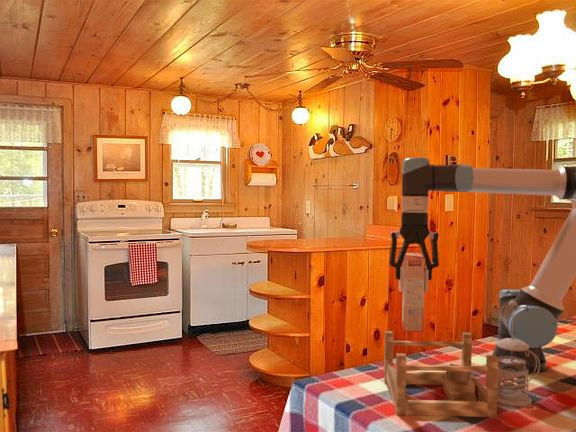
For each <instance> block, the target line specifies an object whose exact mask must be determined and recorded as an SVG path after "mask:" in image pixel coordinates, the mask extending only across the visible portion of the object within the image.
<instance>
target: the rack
mask: <svg viewBox="0 0 576 432" xmlns="http://www.w3.org/2000/svg"><path fill="white" fill-rule="evenodd" d="M461 335H462V336H461V341H433V340H432V341H428V340H427V341H422V340H421V341H420V340H394V333H393V331H391V330H389V331H388V330H387V331H386V330H385V331H384V354H383V355H384V356H383V357H384V358H383V359H384V362H383V365H384V366H383V368H384V369H383V371H384V372H383V382H384V385H386V387H387V390H388V392H389V395H390V398H391V400H392V402H393V403H392V404H393V406H394V409H395V411H394V412H395V414H396V416H436V417H437V416H440V417H443V416H445V417H474V418H475V417H476V418H478V417H481V418H498V402H497V389H498V357H497V356H495V355H492V354H486V359H485V360H486V363H485V365H472V349H473V347H472V345H473V344H472V343H473V334H472V333H471V332H462V334H461ZM394 346H399V347H401V346H407V347H409V346H410V347H411V346H412V347H449V348H450V347H452V348H453V347H457V348H458V347H459V348H460V347H461V366H449V365H450V364H449V365H443V364H442V365H439V364H436V365H435V364H407V355H406V353H405V352H404V353H403V352H401V353H400V352H399V353H398V352H396V354H395V359H396V360H395V365H394V362H393V361H394ZM446 371H466V372H470V378H471V380H472V381H473V383H474V384H475V395H476V401H450V400H434V399H431V400H430V399H406V398H407V397H406V396H407V394H406V392H407V391H406V390H407V389H406V386H407V385H425V386H427V385H431V386H432V385H433V386H436V385H437V386H439V385H440V386H443V383H444V382H445V373H446ZM472 372H474V373H476V372H477V373H478V372H479V373H485V374H486V375H485V386H484V385H483V384H482V383H481V382H480V380H479V379H478V378H477V377H476V376H475V374H473V373H472Z"/></svg>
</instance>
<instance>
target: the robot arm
mask: <svg viewBox="0 0 576 432" xmlns="http://www.w3.org/2000/svg"><path fill="white" fill-rule="evenodd" d="M401 169H402V171H401V208H400V209H401V210H402V212H401V217H400V218H401V223H400V228H399V229H398V230H397V231H391V232H390V234H389V235H390V239H391V244H390V252H389V253H390V254H389V260H388V261H389V262H388V264H389V265H390V266H391V267H393V268H395V274H394V275H395V276H394V277H395V280H398V291H399V292H400V293H401V292H402V293H403V267H402V265H403V260H404V256H405V254H406V253H408V252H407V251H408V249H409V246H410V245H414V244H415V245H419V247H420V251H421V254H422V255H423V256H424V258H425V282H424V293H428V292H429V281H432V279H433V269H434V268H438V267H439V262H440V261H439V251H438V249H439V248H438V239H439V236H440V234H439V232H433V231H430V228H429V214H428V210H429V193H430V192H445V193H475V194H476V193H478V194H479V193H480V194H482V193H483V194H503V195H504V194H505V195H506V194H507V195H529V196H530V195H532V196H552V197H553V196H556V198H557V199H558V200H566V201H567V200H569V201H570V203H571V207H572V208H571V210H570V212H569V214H568V216H567V217H566V219H565V221H564V223H563V224H562V227H561V229H560V230H559V232H558V234H557V235H556V238H554V241H553V243H552V244H551V247H550V248H549V250H548V252H547V254H546V256H545V258H544V259H543V262H542V263H541V265H540V267H539V268H538V271H537V272H536V273H535V275H534V277H533V279H532V281H531V283H530V284H529V285H528V286H525V287H521V289H509V288H508V289H501V290H500V292H499V296H498V301H499V302H498V304H499V305H498V335H497V336H498V338H497V341H498V340H501V339H505V338H512V313H513V338H515V339H518V340H521V341H523V342H525V343H526V344H528V345H529V346H530V348H529V349H528V350H530V351H531V352H533V353H534V354H535V355H536V356H537V357H538V359H539V361H540V370H539V373H538V374H541V373H544V372H546V371H547V358H546V356H545V353H544V349H543V347H545V346H547V345H548V344H550V343H551V342H552V341H553V340H554V339H555V338H556V336H557V335H558V334H557V332H558V328H559V327H558V321H559V319H560V317H561V316H562V314H563V312H564V310H565V309H564V304H563V303H562V301H563V299H564V297H565V296H566V294H567V293H568V290H569V288H570V286H571V285H572V283H573V282H574V280H575V277H576V166H575V165H574V166H561V167H559V168H558V169H542V168H541V169H537V168H535V169H534V168H503V167H502V168H501V167H500V168H496V167H493V168H492V167H491V168H490V167H473V165H472V164H471V165H470V164H462V163H461V164H436V165H435V164H431V162H430V159H429V158H427V157H407V158H404V160H403V161H402V168H401ZM400 236H401V237H402V239H403V242H402V246H401V247H400V252H399V254H398V256H396V255H397V246H398V239H400V238H399V237H400ZM428 236H429V239H430V246H431V247H430V248H431V258H432V259H431V258H430V255H429V252H428V249H427V245H426V242H425V241H426V239H427V237H428ZM396 257H397V259H396ZM431 261H432V262H431ZM510 301H516V303H517V306H511V305H509V302H510ZM530 351H526V354H527V355H528V352H530ZM491 355H495V356H497V357H500V356H509V357H511V356H512V357H516V358H521V359H524V360H526V362H527V364H526V365H525V366H526V371H527V368H528V374H532V373H533V372H534V370H535V367H536V360H537V368H536V370H535V373H534V374H537V372H538V368H539V362H538V359H537V357H536V356H535V357H536V360H535V357H534V355H533V354H532V353H529V357H528V356H526V355H525V351H509V350H504V349H501V348H498V347H497V346H496V345H495V346H494V348H493V352H492V353H491ZM507 368H511V369H514V370H516V371H518V369H517V368H515V367H512V366H505V367H503V368H501V369H503V370H504V369H507Z"/></svg>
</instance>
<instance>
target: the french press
mask: <svg viewBox="0 0 576 432" xmlns="http://www.w3.org/2000/svg"><path fill="white" fill-rule="evenodd" d="M509 305H511V306H517V303H516V301H510V302H509ZM497 340H498V339H497ZM494 345H495V346H497V347H498V348H501V349H504V350H509V351H525V355H526V356H528V357H529V353H532V354H533V355H534V357H535V356H536V355H535V354H534V353H533V352H531V351H530V350H528V349H529V348H530V346H529V345H528V344H526V343H525V342H523V341H521V340H518V339H515V338H513V313H512V338H505V339H501V340H498V341H495V342H494ZM526 351H530V352H528V355H527V354H526ZM536 357H537V356H536ZM536 357H535V360H536ZM537 359H538V357H537ZM538 362H539V368H538V372H537V373H535V370H536V368H537V360H536V367H535V370H534V372H533V373H530V375H529V373H528V368H527V371H526V366H525V365H526V364H527V362H526V360H524V359H521V358H516V357H512V356H511V357H509V356H500V357H498V389H497V403H500V404H503V405H506V406H513V407H526V406H529V405H532V403H533V401H532V399H531V398H530V396H529V384H530V383H529V382H530V381H531V380H533V379H535V378H536V377H537V376H538V375H539V374H540V373H539V370H540V361H539V359H538ZM505 366H512V367H515V368H517V369H518V371H516V370H514V369H511V368H507V369H501V368H503V367H505ZM534 374H536V375H534ZM533 375H534V376H533ZM532 376H533V377H532ZM530 377H531V378H530Z"/></svg>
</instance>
